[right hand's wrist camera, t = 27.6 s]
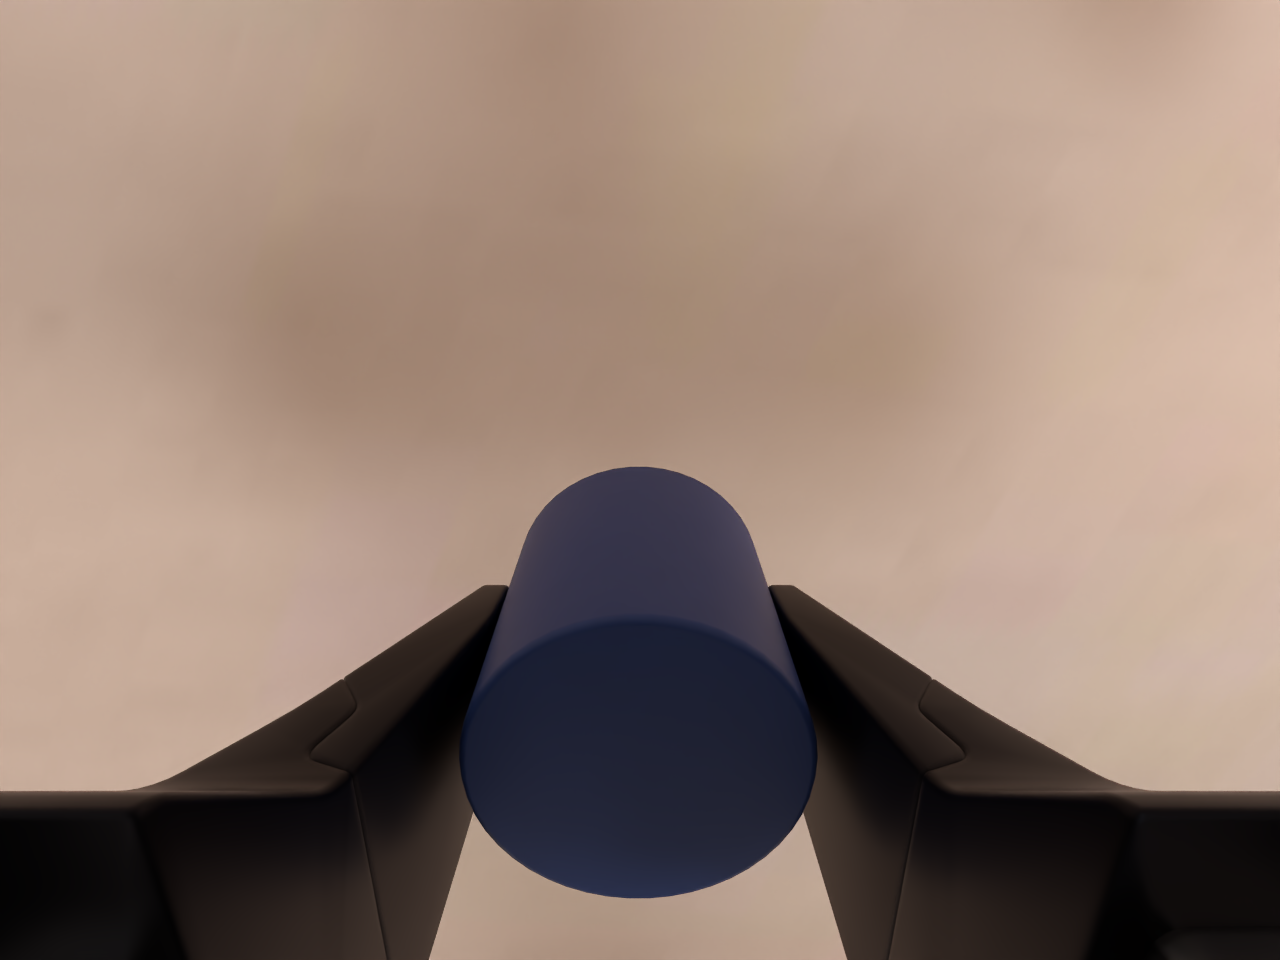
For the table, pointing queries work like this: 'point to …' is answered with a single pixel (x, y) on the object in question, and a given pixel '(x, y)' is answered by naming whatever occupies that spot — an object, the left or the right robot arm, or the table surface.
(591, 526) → the can
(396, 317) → the table surface
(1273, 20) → the table surface
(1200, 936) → the right robot arm
